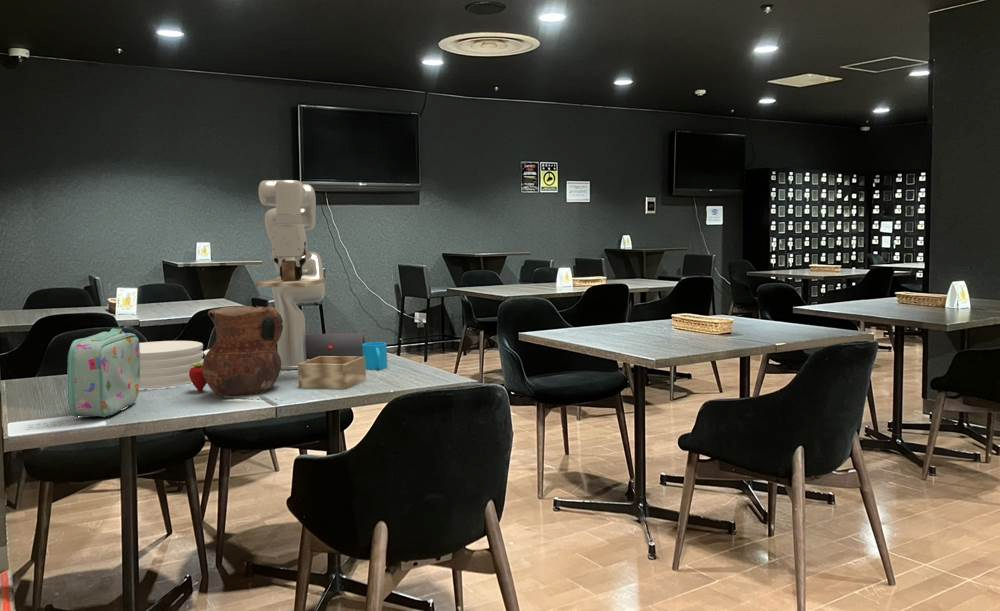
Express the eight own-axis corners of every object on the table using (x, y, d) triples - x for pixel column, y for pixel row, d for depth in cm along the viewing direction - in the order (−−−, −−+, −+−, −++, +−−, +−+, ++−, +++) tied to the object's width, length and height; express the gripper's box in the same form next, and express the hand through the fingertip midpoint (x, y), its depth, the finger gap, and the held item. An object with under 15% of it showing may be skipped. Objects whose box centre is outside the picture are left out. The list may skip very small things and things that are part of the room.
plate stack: (191, 372, 282) (190, 338, 281) (215, 383, 259) (213, 347, 258) (101, 381, 266) (99, 346, 265) (117, 395, 243) (115, 356, 242)
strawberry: (209, 388, 250) (207, 355, 249) (213, 392, 243) (211, 358, 242) (188, 390, 247) (186, 357, 246) (191, 394, 241) (189, 360, 240)
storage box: (298, 391, 243) (297, 363, 242) (320, 381, 257) (319, 356, 257) (347, 392, 240) (346, 364, 239) (366, 382, 254) (365, 356, 253)
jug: (214, 404, 225) (209, 313, 223) (195, 393, 243) (190, 307, 241) (293, 394, 238) (289, 307, 235) (270, 384, 255) (266, 302, 253)
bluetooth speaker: (298, 364, 293) (297, 336, 292) (302, 360, 302) (301, 332, 302) (363, 362, 295) (362, 334, 294) (365, 358, 304) (364, 331, 303)
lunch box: (107, 401, 233) (102, 325, 231) (145, 400, 234) (141, 324, 232) (64, 423, 206) (59, 337, 205) (107, 422, 207) (102, 336, 205)
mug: (361, 366, 285) (360, 343, 284) (384, 365, 287) (384, 341, 287) (367, 372, 273) (366, 347, 273) (391, 370, 276) (391, 346, 275)
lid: (255, 286, 254) (254, 263, 253) (278, 281, 269) (278, 259, 268) (305, 287, 251) (304, 263, 250) (325, 282, 266) (324, 259, 265)
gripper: (258, 220, 256) (260, 280, 258) (309, 220, 252) (311, 280, 255) (269, 220, 263) (271, 278, 265) (319, 220, 260) (321, 278, 262)
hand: (291, 278), depth 260 cm, fingers closed on lid, 4 cm apart
